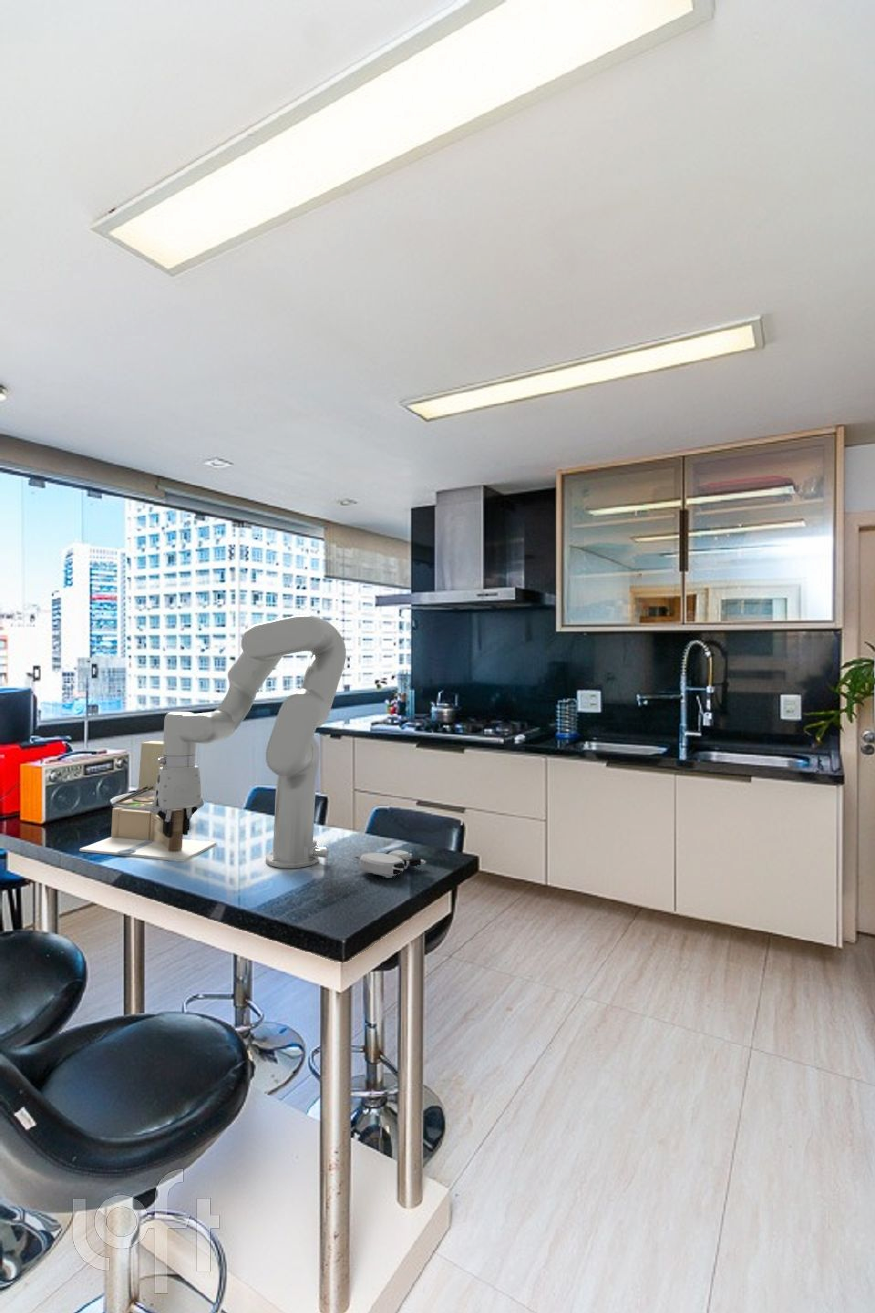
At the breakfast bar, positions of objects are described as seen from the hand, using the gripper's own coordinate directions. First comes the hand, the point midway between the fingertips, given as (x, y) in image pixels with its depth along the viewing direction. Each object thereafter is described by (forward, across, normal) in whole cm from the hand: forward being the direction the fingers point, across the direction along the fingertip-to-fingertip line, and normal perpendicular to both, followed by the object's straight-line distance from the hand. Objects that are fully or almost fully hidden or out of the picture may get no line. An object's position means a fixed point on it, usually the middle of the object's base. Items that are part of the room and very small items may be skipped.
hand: (175, 834), depth 152 cm
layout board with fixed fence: (+4, -4, +8) cm, 10 cm away
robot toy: (+6, +33, -43) cm, 55 cm away
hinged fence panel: (+3, 0, +5) cm, 6 cm away
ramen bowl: (+5, +6, +32) cm, 33 cm away
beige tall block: (+4, +14, +53) cm, 55 cm away
